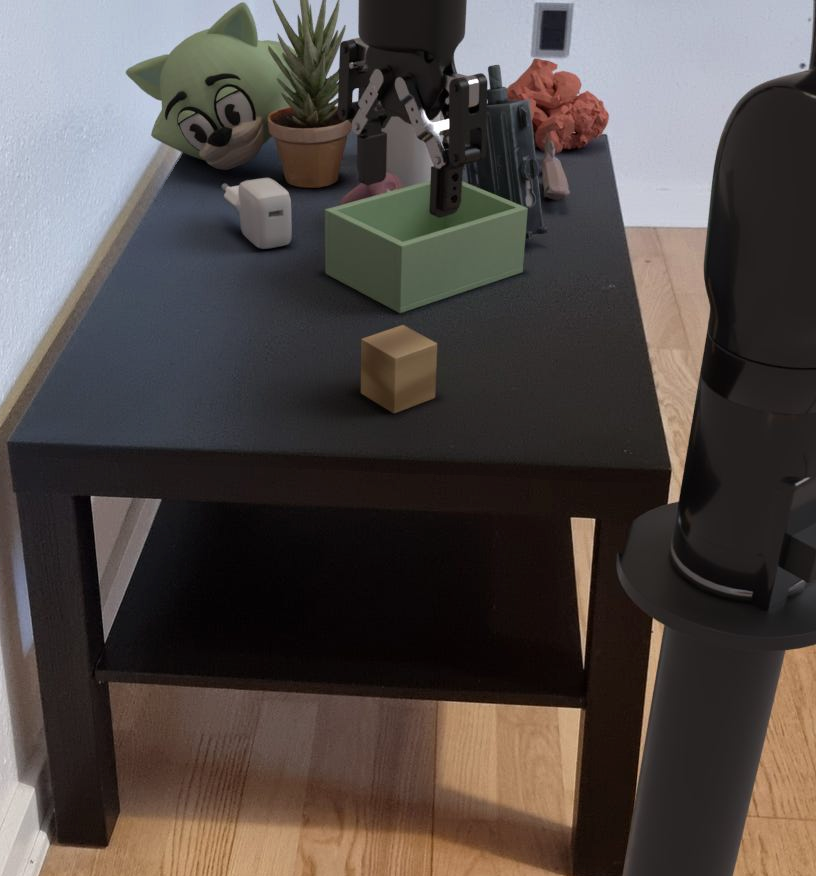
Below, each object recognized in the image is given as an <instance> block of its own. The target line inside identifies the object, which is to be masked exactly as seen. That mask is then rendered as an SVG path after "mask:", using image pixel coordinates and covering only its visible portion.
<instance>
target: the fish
mask: <svg viewBox="0 0 816 876" xmlns="http://www.w3.org/2000/svg"><path fill="white" fill-rule="evenodd" d="M544 150H545V152H543V153H544V154H543V156H542V157H541V162H542V165H541V167H542V171H541V172H542V186H543V192H542V193H543V198H548V199H551V200H554V201H558V200H563V199H567V197H568V196H570V193H571V191H570V190H571V189H570V186H569V183H568V179H567V176H566V173H565V170H564V168H563V165H562V162H561V160H560V159H559V158H558V157H556V155H554V154H555V147H554V144H553V142H552V141H549V140H548V132H547V136H546V145H545V147H544Z"/></svg>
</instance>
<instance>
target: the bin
mask: <svg viewBox="0 0 816 876" xmlns="http://www.w3.org/2000/svg"><path fill="white" fill-rule="evenodd" d="M430 182H431V180H430V181H427V182H423V183H419V184H416V185H412V186H408V187H405V188H401V189H398V190H394V191H390V192H387V193H383V194H379V195H376V196H372V197H368V198H365V199H361V200H358V201H354V202H350V203H347V204H343V205H339V204H338V205H336V206H333V207H329V208H325V209H324V257H325V258H324V263H325V264H324V265H325V266H324V268H325V274H326V276H329V277H331V278H332V279H335V280H337V281H338V282H340V283H342V284H344V285H345V286H347V287H350V288H351V289H353V290H355V291H357V292H359V293H361V294H362V295H365V296H366V297H369V298H370V299H372V300H374V301H376V302H378V303H379V304H381V305H384V306H385V307H387V308H389V309H391V310H393V311H395V312H396V313H398V314H403V313H406V312H408V311H412V310H414V309H417V308H420V307H424V306H426V305H429V304H432V303H435V302H438V301H441V300H444V299H447V298H450V297H453V296H456V295H460V294H462V293H465V292H468V291H471V290H474V289H477V288H479V287H482V286H483V287H484V286H486V285H489V284H492V283H495V282H498V281H500V280H503V279H507V278H510V277H513V276H515V275H519V274H521V273H524V271H523V270H524V260H525V246H526V239H525V236H526V223H527V210H528V208H526V207H523V206H521V205H519V204H516V203H514V202H511V201H509V200H507V199H504V198H502V197H499V196H497V195H494V194H492V193H490V192H487V191H485V190H482V189H480V188H477V187H475V186H472V185H470V184H468V183H466V182H465V181H464V180H462V188H461V189H462V193H461V203H460V206H459V208H458V210H457V211H456V212H455V213H454V214H451V215H447V216H444V217H440V218H438V217H436V216H434V215H432V214H430V211H429V208H430Z"/></svg>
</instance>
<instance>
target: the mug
mask: <svg viewBox="0 0 816 876" xmlns="http://www.w3.org/2000/svg"><path fill="white" fill-rule="evenodd" d="M441 120H444V117H443V115H442V112H441V111H440V113H439V114H438V116H437V117H435V118H434V119H433V120H430V121H431V122H437V121H441ZM382 132H385V133H387V160H386V172H389V173H391V174H393V175H395V176H397V177H398V179H399V180H400V182H401V185H402V188H405V187H408V186H412V185H416V184H419V183H423V182H427V181H430V180H431V167H432V166H434V165H433V162H432V160H431V157H430V155H429V152H428V149H427V147H426V144H425V142H424V141H422V140H420V139H418V138H417V136H416V133H415V131H414V128H413V125H411V124H409V123H406V122H404V121H403V120H402V119H401V118H400V117H391V119H390V120H389V122H388V124H387V125H386V127H385V128H384V129H382ZM440 139H441V141H443V135H441V136H440Z"/></svg>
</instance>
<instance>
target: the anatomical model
mask: <svg viewBox="0 0 816 876" xmlns="http://www.w3.org/2000/svg"><path fill="white" fill-rule="evenodd" d="M556 70H558V63H555V62H553V61H551V60H544V59H541V58H533V60H532V62H531V63H530V66H529V67H528V68H527V69H526V70H525V71H524V72H523V73H522V74H521V75H520V76H519V77H518V78H517V79H516V80H515V81H514V82H512V83H511V84H509V85H508V87H506V88H507V95H508V101H512V100H528V99H530V108H531V118H532V127H533V136H534V145H535V149H537V148H538V149H539V150H541V151H542V152H543V153H545V150H544V147H545V145H546V136H547V132H548V140H549V141H552V142H553V144H554V147H555V154H554V156H556V155H558V154H560V153H561V152H562V151H563V150H564V149H565V150H571V149H580V148H584V147H586V146H587V145H588V144H589V142H593V139H598V137H600V136H602V135H603V133H604V131H605V129H606V128H607V126H608V124H609V120H610V114H609V112H608V110H607V109H606V108H605V105H604V101H602V100H601V99H599V98H597V96H596V95H594V93H591V92H590V91H589V90H585V91H584V92H582V93H580V91H581V88H582V85H583V83H582V81H581V79H580V78H579V76H578V75H577V74H575V73H573V72H570V71H565V70H561V71H556ZM554 71H556V72H554ZM553 72H554V73H553Z"/></svg>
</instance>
